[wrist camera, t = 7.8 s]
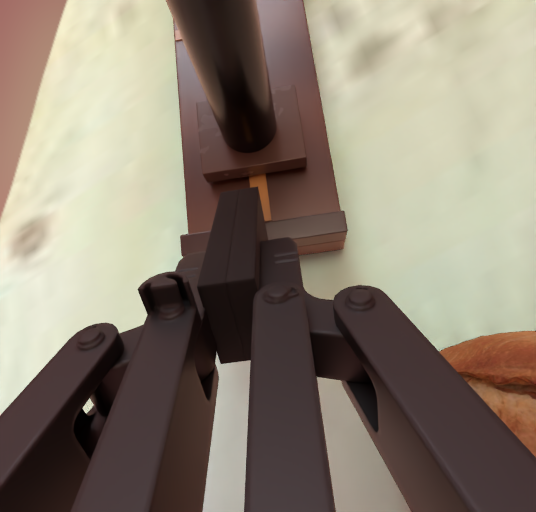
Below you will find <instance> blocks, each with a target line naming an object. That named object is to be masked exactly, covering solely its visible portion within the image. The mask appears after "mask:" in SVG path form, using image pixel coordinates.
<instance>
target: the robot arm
mask: <svg viewBox="0 0 536 512" xmlns="http://www.w3.org/2000/svg"><path fill="white" fill-rule="evenodd" d="M138 291H139V294H140V296H141V299H142V301H143V304H144V306H145V309H146V311H147V314H148V315H147V318H146V321H145V323H144V325H141V326H139V327H137V328H134V329H131V330H128V331H125V332H123V333H120V334H119V332H118V330H117V328H116V327H115V326H114V325H113V324H109V323H99V324H94V325H92V326H88V327H86V328H84V329H83V330H81V331H79V332H77V333H76V334H75V335H74V336H73V337H72V338H70V339H69V340H68V342H67V343H66V344H65V345H64V346H63V347H62V348H61V349H60V350H59V351H58V353H57V354H56V355H55V356H54V357H53V358H52V359H51V360H50V361H49V362H48V364H47V365H46V366H45V367H44V368H43V369H42V370H41V371H40V372H39V373H38V375H37V376H36V377H35V378H34V379H33V380H32V381H31V382H30V383H29V385H28V386H27V387H26V388H25V389H24V390H23V391H22V392H21V393H20V394H19V396H18V397H17V398H16V399H15V400H14V401H13V402H12V403H11V404H10V405H9V407H8V408H7V409H6V410H5V411H4V412H3V413H2V414H1V415H0V512H202V510H203V502H204V494H205V486H206V478H207V470H208V461H209V453H210V445H211V437H212V429H213V421H214V413H215V405H216V397H217V389H218V381H219V376H218V371H217V367H216V364H215V359H216V352H217V353H218V357H219V360H220V363H221V364H224V363H232V362H239V361H247V360H251V366H250V389H249V412H248V435H247V458H246V481H245V504H244V512H336V510H335V503H334V496H333V489H332V482H331V475H330V468H329V461H328V454H327V447H326V440H325V433H324V426H323V419H322V412H321V405H320V398H319V391H318V383H317V377H322V378H329V379H336V380H341V381H342V385H343V387H344V389H345V391H346V393H347V394H348V396H349V398H350V400H351V402H352V404H353V405H354V407H355V409H356V411H357V413H358V414H359V416H360V418H361V420H362V422H363V424H364V425H365V427H366V429H367V431H368V433H369V435H370V436H371V438H372V440H373V442H374V444H375V446H376V447H377V449H378V451H379V453H380V455H381V457H382V458H383V460H384V462H385V464H386V466H387V468H388V469H389V471H390V473H391V475H392V477H393V478H394V480H395V482H396V484H397V486H398V488H399V489H400V491H401V493H402V495H403V497H404V499H405V500H406V502H407V504H408V506H409V508H410V510H411V511H412V512H536V457H535V456H534V455H533V454H532V453H531V452H530V450H529V449H528V448H527V447H526V446H525V445H524V444H523V443H522V442H521V441H520V440H519V438H518V437H517V436H516V435H515V434H514V433H513V432H512V431H511V430H510V429H509V428H508V426H507V425H506V424H505V423H504V422H503V421H502V420H501V419H500V418H499V417H498V416H497V414H496V413H495V412H494V411H493V410H492V409H491V408H490V407H489V406H488V405H487V404H486V402H485V401H484V400H483V399H482V398H481V397H480V396H479V395H478V394H477V393H476V392H475V391H474V389H473V388H472V387H471V386H470V385H469V384H468V383H467V382H466V381H465V380H464V379H463V377H462V376H461V375H460V374H459V373H458V372H457V371H456V370H455V369H454V368H453V367H452V365H451V364H450V363H449V362H448V361H447V360H446V359H445V358H444V357H443V356H442V355H441V353H440V352H439V351H438V350H437V349H436V348H435V347H434V346H433V345H432V344H431V343H430V342H429V340H428V339H427V338H426V337H425V336H424V335H423V334H422V333H421V332H420V331H419V330H418V328H417V327H416V326H415V325H414V324H413V323H412V322H411V321H410V320H409V319H408V318H407V316H406V315H405V314H404V313H403V312H402V311H401V310H400V309H399V308H398V307H397V306H396V304H395V303H394V302H393V301H392V300H391V299H390V298H389V297H388V296H387V295H386V294H385V293H384V292H383V291H381V290H380V289H378V288H374V287H371V286H362V285H358V286H352V287H348V288H346V289H343V290H341V291H340V292H339V293H338V294H336V295H335V297H334V300H325V299H319V298H316V297H313V296H311V295H310V294H308V293H307V292H306V291H305V290H304V287H303V282H302V276H301V269H300V262H299V256H298V249H297V243H296V242H295V241H293V240H292V239H291V238H290V237H285V238H279V239H272V240H268V236H267V231H266V226H265V220H264V215H263V210H262V205H261V199H260V194H259V189H258V186H257V187H251V188H245V189H239V190H233V191H227V192H221V193H220V197H219V201H218V205H217V209H216V213H215V217H214V221H213V225H212V229H211V233H210V237H209V241H208V245H207V248H206V251H201V252H194V253H188V254H186V255H185V256H184V257H183V258H182V259H181V260H180V261H179V263H178V266H177V268H176V272H166V273H162V274H158V275H156V276H154V277H151V278H149V279H148V280H146V281H145V282H144V283H142V285H141V286H140V287H139V288H138ZM89 398H90V399H91V401H92V403H93V404H94V406H93V407H92V409H91V410H90V411H89V412H88V413H87V414H86V413H85V412H84V410H83V409H82V408H83V406H84V405H85V404H86V402H87V401H88V399H89Z"/></svg>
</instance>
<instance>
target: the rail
mask: <svg viewBox="0 0 536 512" xmlns="http://www.w3.org/2000/svg"><path fill="white" fill-rule="evenodd" d="M256 2H257V8H258V14H259V20H260V26H261V32H262V38H263V44H264V50H265V56H266V62H267V68H268V74H269V80H270V87H271V89H273V88H279V87H284V86H290V85H295V86H296V93H297V99H298V105H299V111H300V118H301V124H302V130H303V136H304V143H305V149H306V155H307V167H302V168H296V169H290V170H284V171H277V172H271V173H265V174H259V175H253V176H247V177H240V178H234V179H228V180H222V181H216V182H209V183H207V181H206V180H205V178H204V176H203V175H202V168H201V156H200V144H199V132H198V120H197V108H196V102H200V101H206V100H207V98H206V96H205V93H204V91H203V88H202V86H201V84H200V81H199V79H198V76H197V74H196V72H195V69H194V67H193V64H192V62H191V60H190V57H189V55H188V52H187V50H186V48H185V45H184V43H183V40H182V38H181V36H180V33H179V31H178V28H177V26H176V24H175V21H174V19H173V23H174V37H175V51H176V65H177V79H178V94H179V108H180V122H181V136H182V150H183V164H184V178H185V192H186V206H187V220H188V234H186V235H181V236H180V238H181V254H182V256H183V257H184V256H185V255H186V254H188V253H194V252H201V251H206V248H207V245H208V241H209V237H210V233H211V229H212V225H213V221H214V217H215V213H216V209H217V205H218V201H219V197H220V193H221V192H227V191H233V190H239V189H245V188H251V187H257V186H258V189H259V194H260V199H261V205H262V210H263V215H264V220H265V226H266V231H267V236H268V240H272V239H279V238H285V237H290V238H291V239H292V240H293V241H295V242H296V243H297V249H298V255H305V254H312V253H319V252H326V251H333V250H340V249H343V247H344V243H345V239H346V235H347V231H348V229H347V224H346V218H345V213H344V211H340V205H339V200H338V194H337V188H336V183H335V177H334V172H333V166H332V160H331V155H330V149H329V143H328V138H327V132H326V126H325V121H324V115H323V110H322V104H321V98H320V93H319V87H318V81H317V76H316V70H315V64H314V59H313V53H312V48H311V42H310V36H309V31H308V25H307V19H306V14H305V8H304V3H303V0H256Z"/></svg>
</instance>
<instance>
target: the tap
mask: <svg viewBox="0 0 536 512" xmlns="http://www.w3.org/2000/svg"><path fill="white" fill-rule="evenodd" d="M166 2H167V4H168V7H169V9H170V12H171V14H172V16H173V19H174V21H175V24H176V26H177V28H178V31H179V33H180V36H181V38H182V40H183V43H184V45H185V48H186V50H187V52H188V55H189V57H190V60H191V62H192V64H193V67H194V69H195V72H196V74H197V76H198V79H199V81H200V84H201V86H202V88H203V91H204V93H205V96H206V98H207V100H206V101H200V102H196V108H197V120H198V132H199V144H200V156H201V168H202V175H203V176H204V178H205V180H206V181H207V183H209V182H216V181H222V180H228V179H234V178H240V177H247V176H253V175H259V174H265V173H271V172H277V171H284V170H290V169H296V168H302V167H307V155H306V149H305V143H304V136H303V130H302V124H301V118H300V111H299V105H298V99H297V93H296V86H295V85H290V86H284V87H279V88H273V89H271V87H270V80H269V74H268V68H267V62H266V56H265V50H264V44H263V38H262V32H261V26H260V20H259V14H258V8H257V2H256V0H166Z"/></svg>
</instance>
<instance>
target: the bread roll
mask: <svg viewBox="0 0 536 512" xmlns="http://www.w3.org/2000/svg"><path fill="white" fill-rule="evenodd" d="M440 353H441V355H442V356H443V357H444V358H445V359H446V360H447V361H448V362H449V363H450V364H451V365H452V367H453V368H454V369H455V370H456V371H457V372H458V373H459V374H460V375H461V376H462V377H463V379H464V380H465V381H466V382H467V383H468V384H469V385H470V386H471V387H472V388H473V389H474V391H475V392H476V393H477V394H478V395H479V396H480V397H481V398H482V399H483V400H484V401H485V402H486V404H487V405H488V406H489V407H490V408H491V409H492V410H493V411H494V412H495V413H496V414H497V416H498V417H499V418H500V419H501V420H502V421H503V422H504V423H505V424H506V425H507V426H508V428H509V429H510V430H511V431H512V432H513V433H514V434H515V435H516V436H517V437H518V438H519V440H520V441H521V442H522V443H523V444H524V445H525V446H526V447H527V448H528V449H529V450H530V452H531V453H532V454H533V455H534V456H535V457H536V331H522V332H509V333H499V334H494V335H489V336H480V337H478V338H475V339H472V340H468V341H465V342H462V343H460V344H458V345H455V346H451V347H448V348H445V349H443V350H442V351H440Z"/></svg>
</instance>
